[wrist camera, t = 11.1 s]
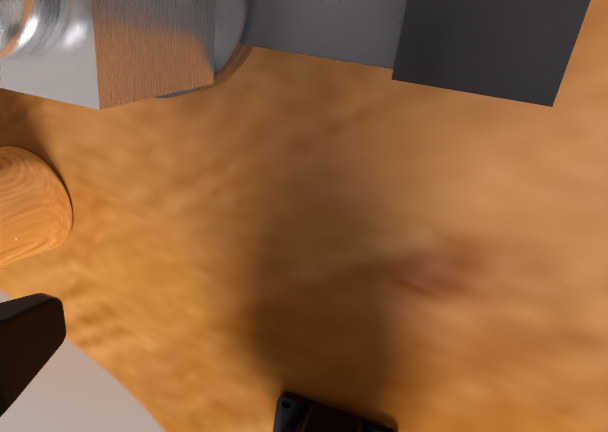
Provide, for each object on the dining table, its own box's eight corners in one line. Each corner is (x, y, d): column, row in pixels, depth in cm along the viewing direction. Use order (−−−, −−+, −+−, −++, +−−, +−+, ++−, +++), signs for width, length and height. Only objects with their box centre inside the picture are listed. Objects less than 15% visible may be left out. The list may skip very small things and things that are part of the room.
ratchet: (97, 74, 21) (-28, 91, 15) (82, -140, 17) (-86, -213, 12) (521, 159, 16) (549, 222, 11) (613, -105, 13) (718, -196, 8)
